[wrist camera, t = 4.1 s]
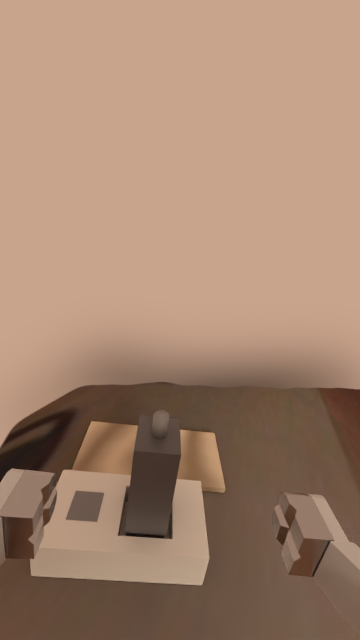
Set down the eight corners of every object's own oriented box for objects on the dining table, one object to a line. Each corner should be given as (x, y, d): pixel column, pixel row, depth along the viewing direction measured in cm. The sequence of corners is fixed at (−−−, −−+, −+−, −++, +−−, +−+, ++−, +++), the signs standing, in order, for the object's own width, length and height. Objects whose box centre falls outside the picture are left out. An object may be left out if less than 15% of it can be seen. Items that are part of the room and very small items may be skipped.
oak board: (213, 436, 46) (214, 433, 45) (224, 492, 36) (225, 488, 36) (91, 425, 44) (91, 421, 44) (69, 480, 35) (69, 475, 34)
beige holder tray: (195, 505, 34) (200, 480, 33) (202, 585, 26) (209, 557, 25) (63, 494, 33) (63, 469, 32) (31, 575, 25) (29, 546, 24)
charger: (164, 507, 32) (182, 401, 27) (163, 552, 27) (184, 436, 23) (129, 504, 31) (141, 397, 27) (122, 550, 27) (135, 431, 22)
